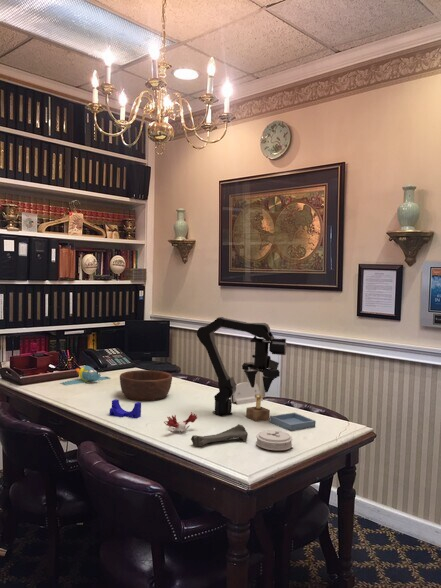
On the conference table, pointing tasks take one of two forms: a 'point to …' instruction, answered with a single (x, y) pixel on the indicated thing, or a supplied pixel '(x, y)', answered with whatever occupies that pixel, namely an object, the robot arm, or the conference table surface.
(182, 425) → the figurine
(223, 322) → the robot arm
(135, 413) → the cable clip
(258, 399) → the brass pin
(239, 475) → the conference table surface
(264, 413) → the pin block
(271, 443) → the lid
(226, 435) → the bone
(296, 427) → the tray
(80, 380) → the blue toy parrot
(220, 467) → the conference table surface
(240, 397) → the hinge
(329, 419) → the conference table surface
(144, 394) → the wooden bowl
